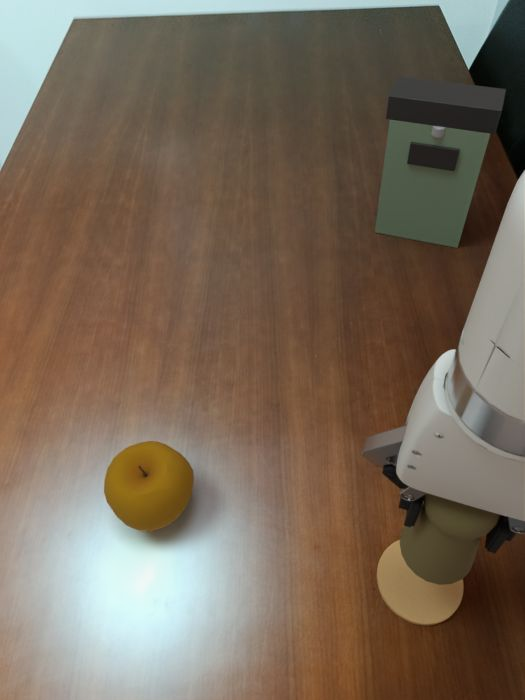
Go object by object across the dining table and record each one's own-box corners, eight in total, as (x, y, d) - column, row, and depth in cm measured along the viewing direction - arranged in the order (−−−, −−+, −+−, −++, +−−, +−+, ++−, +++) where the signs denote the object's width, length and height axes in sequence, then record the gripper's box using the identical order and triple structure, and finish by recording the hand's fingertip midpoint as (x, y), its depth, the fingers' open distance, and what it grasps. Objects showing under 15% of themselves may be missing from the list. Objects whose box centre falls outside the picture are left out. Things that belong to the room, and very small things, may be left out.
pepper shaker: (481, 528, 49) (521, 469, 40) (465, 597, 46) (504, 549, 37) (411, 501, 51) (434, 438, 42) (390, 565, 47) (411, 512, 39)
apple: (203, 468, 64) (192, 427, 57) (195, 546, 58) (181, 511, 51) (126, 467, 64) (106, 426, 57) (111, 544, 59) (86, 509, 52)
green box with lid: (465, 226, 86) (506, 88, 69) (460, 251, 83) (501, 112, 66) (378, 211, 89) (397, 75, 72) (370, 234, 86) (387, 98, 69)
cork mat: (467, 553, 57) (469, 551, 56) (455, 638, 52) (457, 637, 52) (386, 528, 59) (386, 526, 58) (367, 608, 54) (368, 606, 54)
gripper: (709, 367, 29) (574, 509, 44) (375, 295, 34) (351, 447, 48) (727, 500, 25) (570, 610, 39) (342, 399, 29) (327, 531, 44)
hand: (451, 519), depth 44 cm, fingers closed on pepper shaker, 5 cm apart
